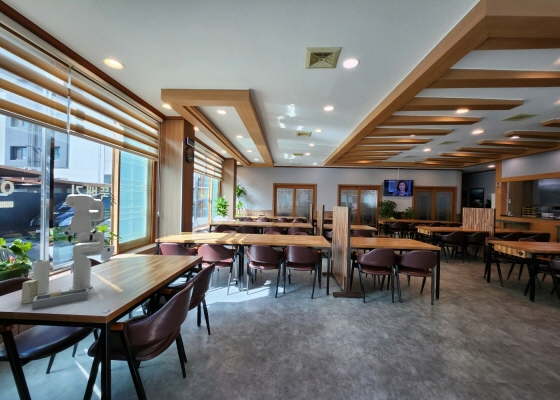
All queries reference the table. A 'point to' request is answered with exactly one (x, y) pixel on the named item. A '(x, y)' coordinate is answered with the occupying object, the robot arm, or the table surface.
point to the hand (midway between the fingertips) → (80, 241)
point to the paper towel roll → (41, 275)
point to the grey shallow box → (60, 298)
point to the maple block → (55, 293)
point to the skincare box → (29, 291)
